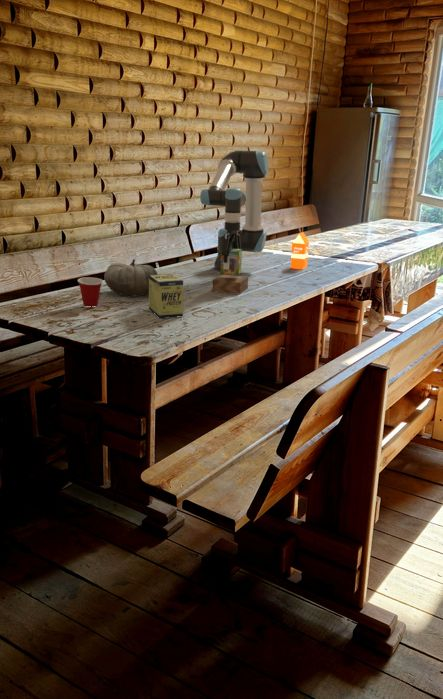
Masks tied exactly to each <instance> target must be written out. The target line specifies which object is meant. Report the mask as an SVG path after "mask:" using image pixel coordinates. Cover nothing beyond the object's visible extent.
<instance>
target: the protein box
mask: <svg viewBox="0 0 443 699" xmlns="http://www.w3.org/2000/svg"><path fill="white" fill-rule="evenodd" d="M149 309H150V310H151V311H152V312H151V311H150V310H149ZM148 310H149V311H150V312H151V313H153V314H154V313H155V314H156V315H157V316H158V317H159V318H158V317H157V316H156V315H155V314H154V315H155V316H156V317H157V318H158V319H160V318H161V319H166V318H165V317H173V318H178V317H177V316H183V317H184V280H182V279H181V278H179V277H178V276H176V275H174V274H173V273H161V274H159V273H157V275H149V294H148Z"/></svg>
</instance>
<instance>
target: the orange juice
mask: <svg viewBox="0 0 443 699" xmlns="http://www.w3.org/2000/svg"><path fill="white" fill-rule="evenodd" d="M309 244H310V241H309V240H308V238H307V236H306V235H305V233H304V231H302V232H299V234H298V235H297V236H296V237H295V239H294V240H293V242H292V243H291V256H290V269H295V270H296V269H297V270H305V269H306V268H307V267H308V261H309V260H308V259H309Z"/></svg>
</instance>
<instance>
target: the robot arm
mask: <svg viewBox="0 0 443 699" xmlns="http://www.w3.org/2000/svg"><path fill="white" fill-rule="evenodd" d="M217 169H218V170H217V171H216V173H215V175H214V177H213V178H212V181H211V183H210V185H209V187H208V189H207V188H206V189H202V190H201V192H200V197H199V198H200V203H201V205H205V206H220V207H224V227H222V228H220V229H219V230H218V233H217V255H216V258H215V260H214V265H213V268H214V270H217V271H221V255H222V256H224V262H223V269H227V270H229V256H228V255H229V252H230V248H231V245H232V248H234V249H242V252H247V253H248V252H249V253H261V252H262V251H263V250H264V249H265V244H266V240H267V231H265V230H264V226H263V225H262V221H261V220H262V196H263V195H262V194H263V191H262V190H263V189H262V188H263V180H264V179H266V178H265V177H266V175H268V173H269V159H268V155H267V153H266V152H265V151H260V150H239V149H238V150H234V151H232V152H229V153H228V154H226V155H224V156H223V157H222V158H221V159H220V161H219V163H218V164H217ZM235 174H242V178H243V179H244V180H245V192H244V190H242V189H241V188H236V187H228V188H226V187H227V186H228V183H229V182H230V180H231V177H232V176H234V175H235ZM244 205H245V207H244V209H245V211H244V212H245V213H244V216H245V218H244V220H245V221H244V222H245V223H244V225H243V226H242V229H241V222H240V221H241V217H242V215H241V210H242V207H243V206H244ZM221 250H222V253H221Z"/></svg>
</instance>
